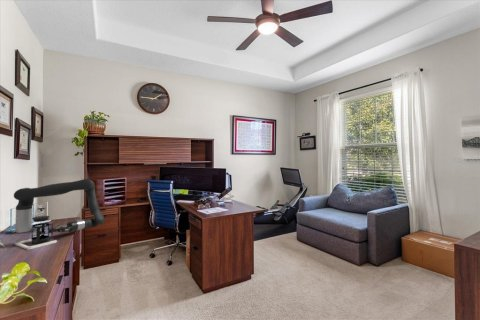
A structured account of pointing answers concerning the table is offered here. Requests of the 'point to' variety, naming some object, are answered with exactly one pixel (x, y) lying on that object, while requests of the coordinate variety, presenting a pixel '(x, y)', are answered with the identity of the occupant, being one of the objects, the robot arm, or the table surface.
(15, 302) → the table surface
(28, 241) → the bay
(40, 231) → the french press
